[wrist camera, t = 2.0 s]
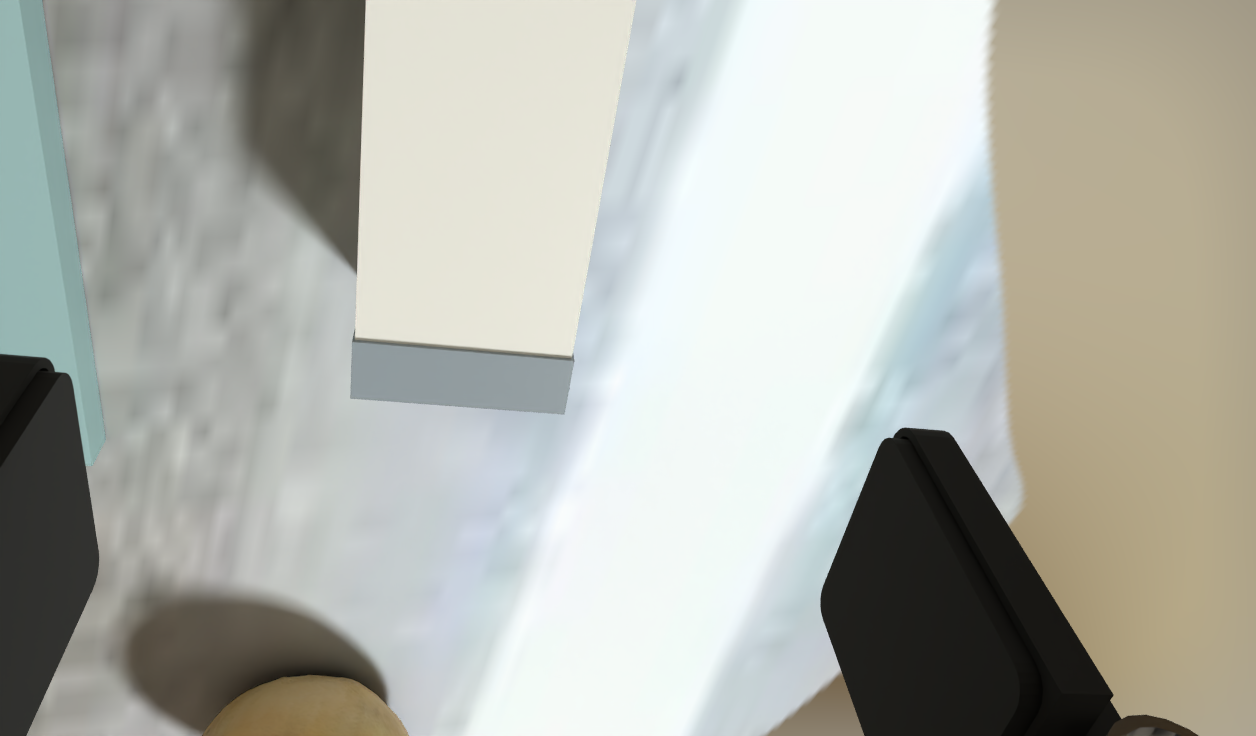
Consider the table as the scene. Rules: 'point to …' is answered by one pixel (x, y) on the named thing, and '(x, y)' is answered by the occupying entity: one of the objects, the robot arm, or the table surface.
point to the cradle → (40, 221)
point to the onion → (307, 710)
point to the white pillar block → (480, 195)
